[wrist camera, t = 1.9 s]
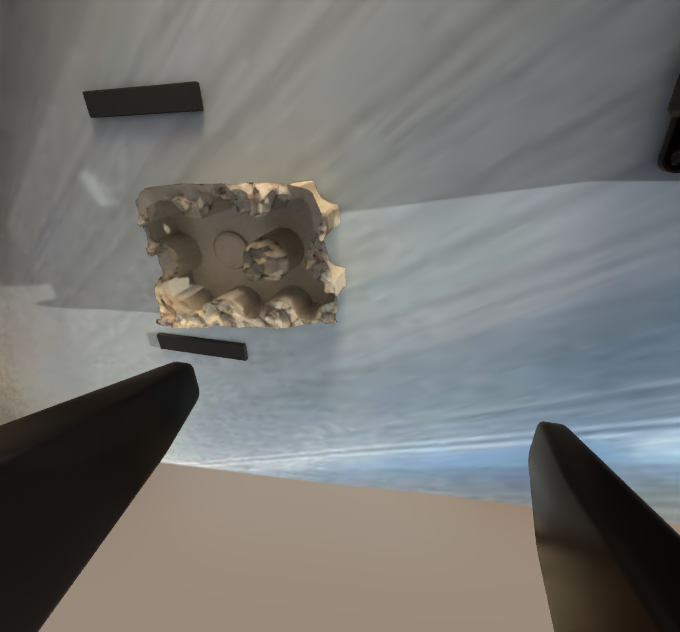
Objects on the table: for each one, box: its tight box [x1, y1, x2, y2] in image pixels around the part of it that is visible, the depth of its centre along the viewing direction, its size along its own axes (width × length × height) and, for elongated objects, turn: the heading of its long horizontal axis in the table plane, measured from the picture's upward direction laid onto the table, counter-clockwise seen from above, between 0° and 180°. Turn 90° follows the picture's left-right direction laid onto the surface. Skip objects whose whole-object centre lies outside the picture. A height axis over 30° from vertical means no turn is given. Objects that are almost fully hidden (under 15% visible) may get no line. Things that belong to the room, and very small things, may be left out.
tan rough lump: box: [135, 181, 346, 329], centre depth 19 cm, size 11×8×4 cm
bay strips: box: [83, 82, 248, 361], centre depth 22 cm, size 7×16×1 cm, turn 1°
